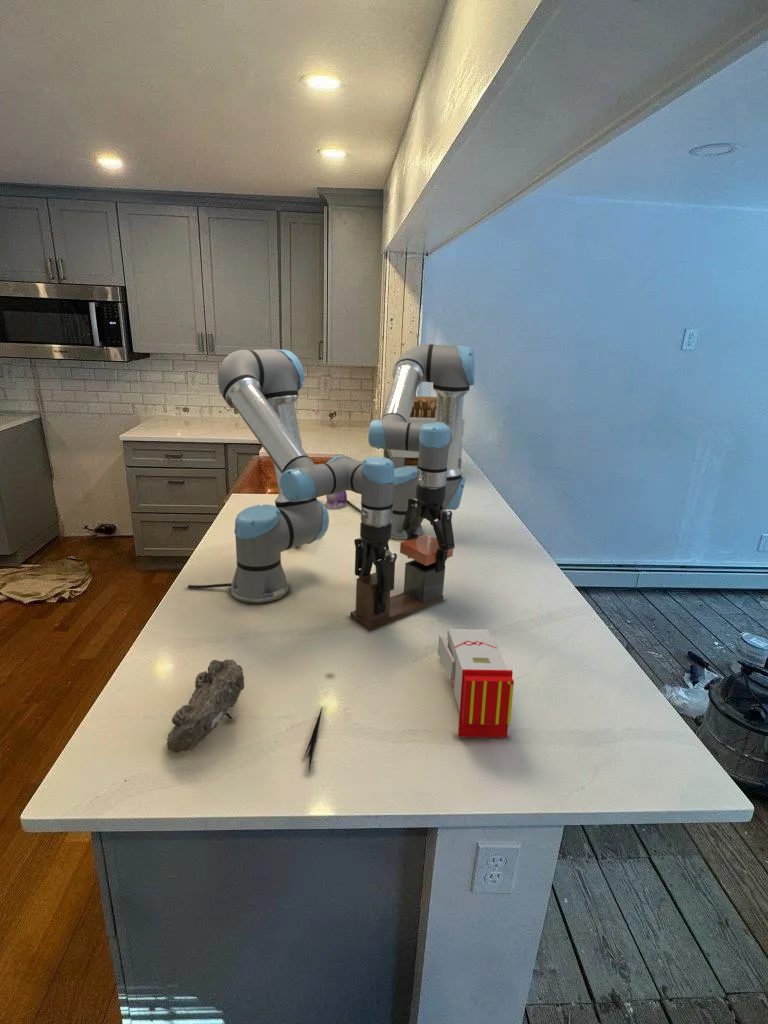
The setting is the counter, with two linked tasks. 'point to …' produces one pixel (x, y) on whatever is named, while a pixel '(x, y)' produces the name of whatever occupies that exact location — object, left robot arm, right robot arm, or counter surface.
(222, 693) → the fossil
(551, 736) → the counter surface
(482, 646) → the toy
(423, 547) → the glossy orange tile
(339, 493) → the figurine
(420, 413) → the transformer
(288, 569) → the counter surface
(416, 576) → the brown wooden desk organizer
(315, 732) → the feather
